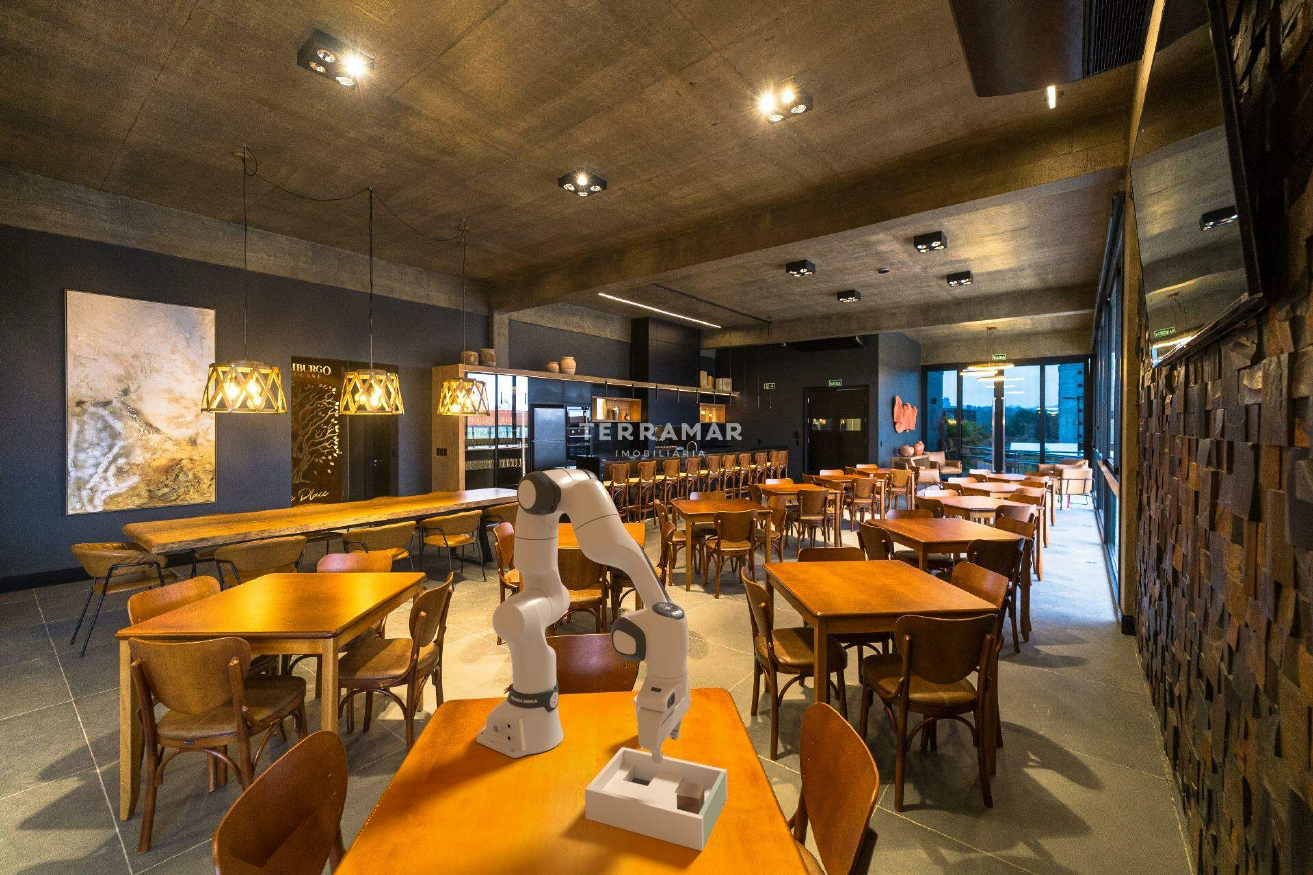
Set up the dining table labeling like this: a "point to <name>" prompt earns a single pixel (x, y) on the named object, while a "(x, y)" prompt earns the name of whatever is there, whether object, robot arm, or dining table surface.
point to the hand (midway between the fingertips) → (666, 749)
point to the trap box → (655, 797)
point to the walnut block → (690, 797)
